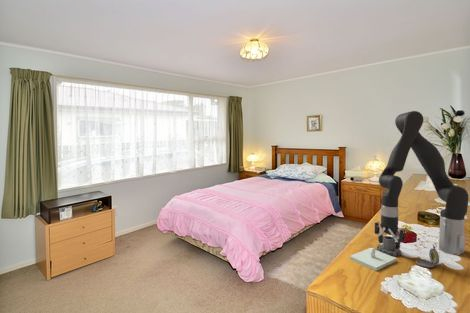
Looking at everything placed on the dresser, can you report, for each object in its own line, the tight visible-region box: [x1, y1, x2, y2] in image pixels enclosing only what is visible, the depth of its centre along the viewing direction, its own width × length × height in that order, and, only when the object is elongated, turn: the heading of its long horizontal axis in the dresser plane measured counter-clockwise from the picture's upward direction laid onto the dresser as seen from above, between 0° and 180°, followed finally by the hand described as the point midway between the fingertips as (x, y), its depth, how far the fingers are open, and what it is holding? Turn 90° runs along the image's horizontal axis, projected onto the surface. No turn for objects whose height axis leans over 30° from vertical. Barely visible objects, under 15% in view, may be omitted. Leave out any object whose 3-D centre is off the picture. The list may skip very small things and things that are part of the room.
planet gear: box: [376, 235, 402, 257], centre depth 130 cm, size 10×10×7 cm
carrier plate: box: [349, 247, 397, 272], centre depth 122 cm, size 13×16×6 cm
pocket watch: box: [415, 243, 440, 269], centre depth 116 cm, size 8×8×10 cm
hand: (388, 245), depth 130 cm, fingers open, 7 cm apart
